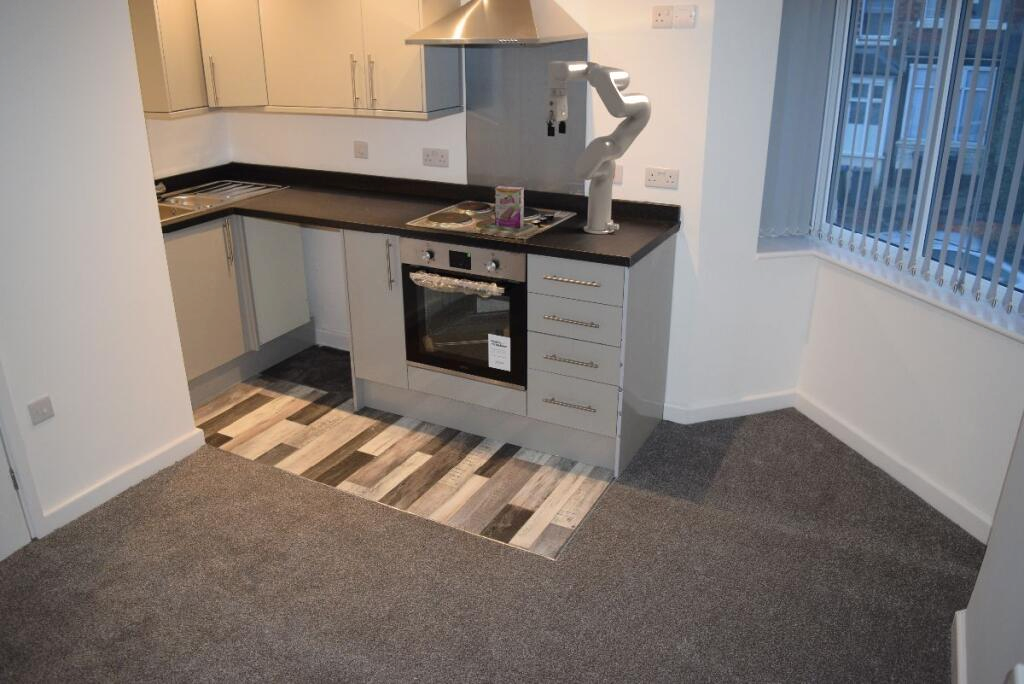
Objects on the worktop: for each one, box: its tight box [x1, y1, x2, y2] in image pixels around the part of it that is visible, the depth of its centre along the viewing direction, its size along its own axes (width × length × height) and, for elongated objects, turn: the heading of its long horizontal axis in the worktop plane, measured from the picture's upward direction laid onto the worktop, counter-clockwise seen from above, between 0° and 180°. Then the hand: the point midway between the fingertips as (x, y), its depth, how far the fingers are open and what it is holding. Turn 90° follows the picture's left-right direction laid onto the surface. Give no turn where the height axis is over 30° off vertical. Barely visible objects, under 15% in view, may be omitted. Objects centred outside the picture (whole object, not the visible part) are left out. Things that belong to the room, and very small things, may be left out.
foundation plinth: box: [479, 220, 539, 240], centre depth 338 cm, size 18×17×3 cm
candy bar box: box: [494, 185, 525, 229], centre depth 335 cm, size 11×5×16 cm, turn 73°
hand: (556, 134), depth 345 cm, fingers open, 9 cm apart
